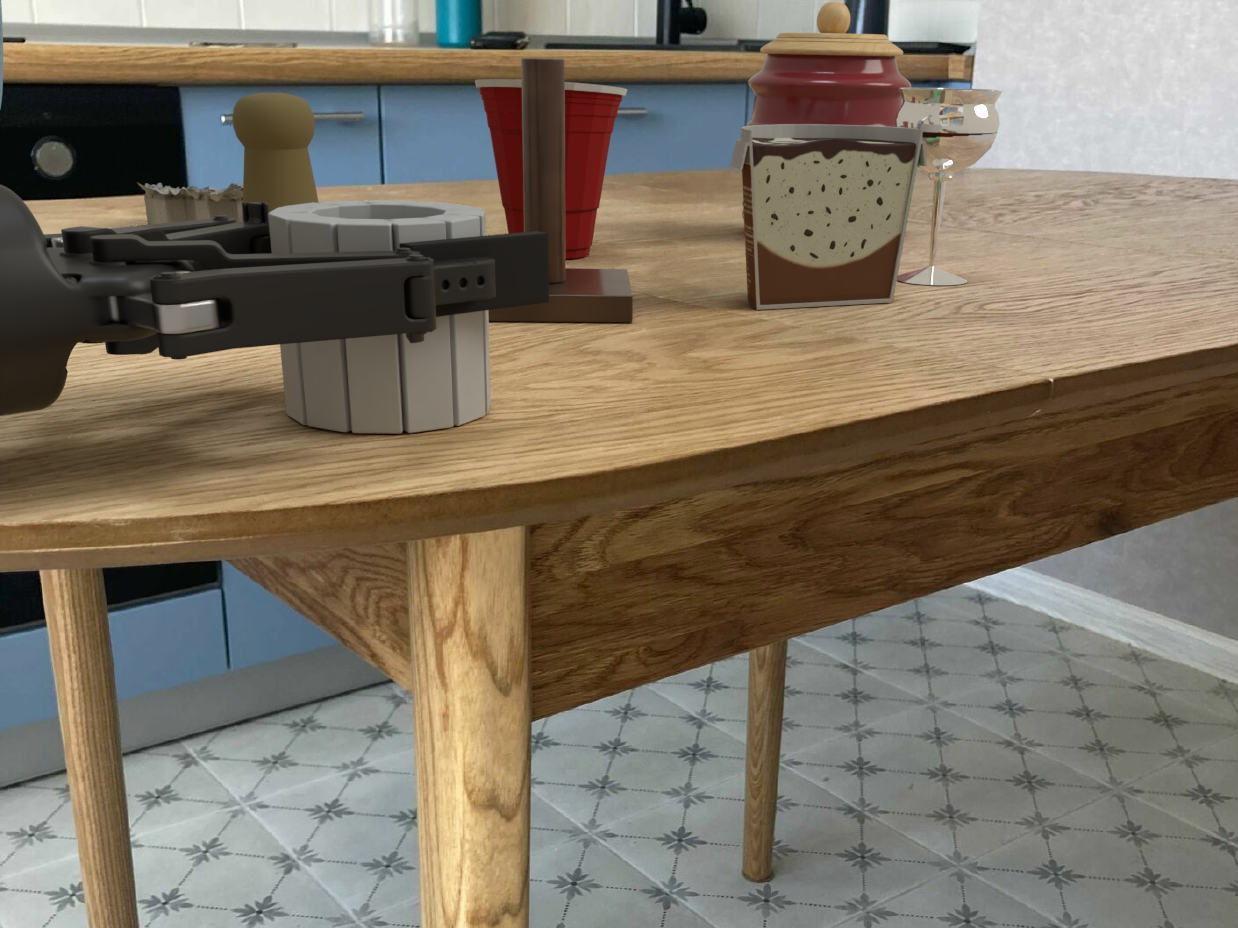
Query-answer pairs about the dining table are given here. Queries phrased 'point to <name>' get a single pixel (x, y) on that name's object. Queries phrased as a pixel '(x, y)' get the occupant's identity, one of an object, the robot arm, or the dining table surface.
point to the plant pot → (384, 365)
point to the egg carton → (191, 203)
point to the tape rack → (558, 211)
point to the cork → (276, 149)
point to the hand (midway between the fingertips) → (474, 253)
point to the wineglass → (947, 149)
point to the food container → (825, 211)
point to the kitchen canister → (828, 77)
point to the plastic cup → (584, 152)
